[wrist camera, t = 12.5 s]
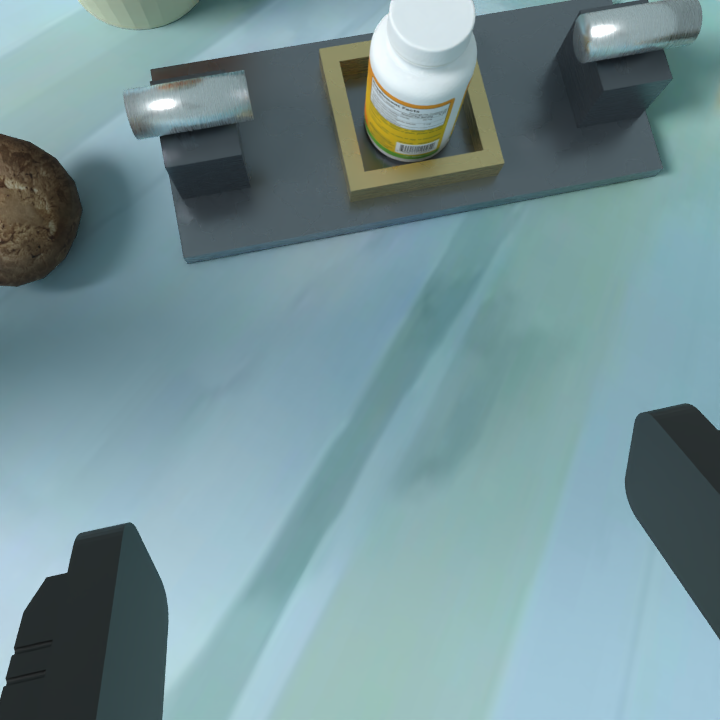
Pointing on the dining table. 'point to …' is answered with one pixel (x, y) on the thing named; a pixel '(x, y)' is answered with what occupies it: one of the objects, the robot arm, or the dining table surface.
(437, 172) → the shaft bench
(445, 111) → the supplement bottle
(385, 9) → the dining table surface
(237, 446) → the dining table surface
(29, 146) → the brown rough round lump
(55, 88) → the dining table surface
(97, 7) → the reusable coffee cup
